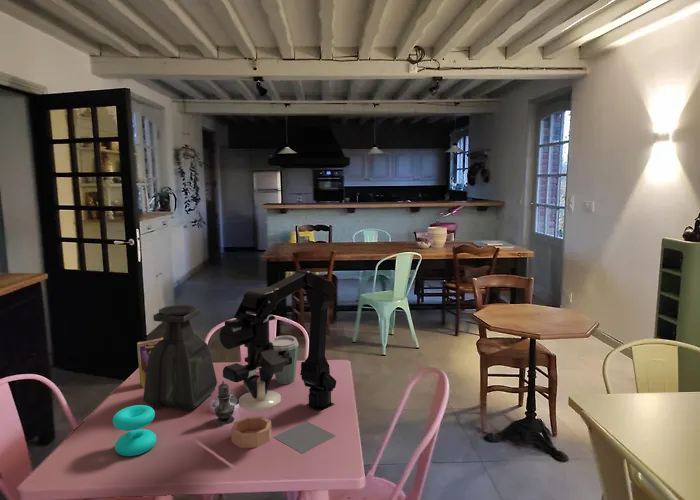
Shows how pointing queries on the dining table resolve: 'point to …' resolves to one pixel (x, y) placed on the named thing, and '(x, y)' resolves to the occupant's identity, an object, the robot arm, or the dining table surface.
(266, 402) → the lid
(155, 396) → the bottle
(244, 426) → the bowl
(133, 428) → the donuts
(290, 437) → the mat
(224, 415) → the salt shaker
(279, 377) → the disposable coffee cup
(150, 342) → the candy box
